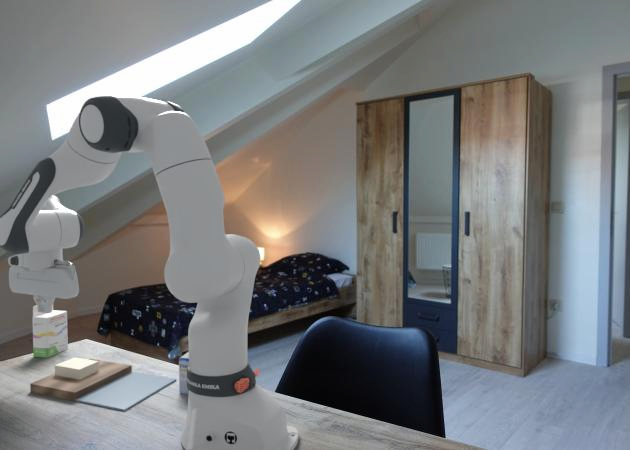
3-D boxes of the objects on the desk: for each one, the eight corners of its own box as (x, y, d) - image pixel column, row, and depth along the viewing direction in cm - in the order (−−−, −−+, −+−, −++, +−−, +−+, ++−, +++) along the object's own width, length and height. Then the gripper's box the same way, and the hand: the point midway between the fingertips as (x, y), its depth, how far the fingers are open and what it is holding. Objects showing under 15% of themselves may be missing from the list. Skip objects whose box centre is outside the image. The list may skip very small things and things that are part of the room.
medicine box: (194, 380, 120) (193, 347, 119) (210, 382, 119) (210, 348, 118) (178, 393, 112) (178, 357, 112) (196, 395, 111) (195, 359, 111)
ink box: (47, 358, 135) (45, 307, 134) (32, 357, 136) (30, 306, 135) (69, 348, 144) (67, 300, 143) (55, 347, 145) (53, 299, 144)
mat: (176, 380, 120) (176, 378, 120) (124, 411, 103) (124, 409, 103) (131, 372, 125) (131, 371, 125) (75, 401, 108) (75, 399, 108)
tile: (99, 370, 121) (98, 361, 121) (79, 379, 115) (79, 369, 115) (75, 366, 124) (74, 357, 123) (55, 375, 118) (54, 365, 118)
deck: (131, 372, 125) (131, 365, 125) (75, 401, 108) (75, 392, 108) (90, 365, 130) (90, 358, 130) (30, 391, 113) (30, 383, 113)
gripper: (84, 259, 120) (85, 313, 121) (25, 254, 127) (27, 305, 128) (63, 263, 114) (65, 319, 115) (3, 258, 121) (5, 311, 122)
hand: (44, 312), depth 122 cm, fingers closed
